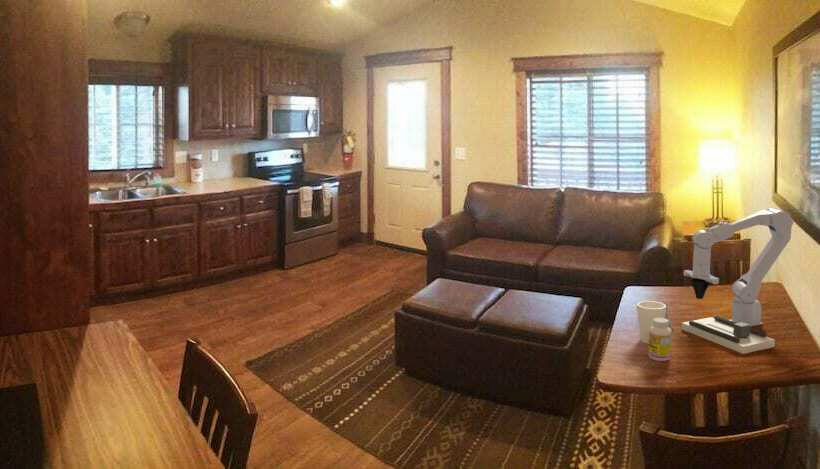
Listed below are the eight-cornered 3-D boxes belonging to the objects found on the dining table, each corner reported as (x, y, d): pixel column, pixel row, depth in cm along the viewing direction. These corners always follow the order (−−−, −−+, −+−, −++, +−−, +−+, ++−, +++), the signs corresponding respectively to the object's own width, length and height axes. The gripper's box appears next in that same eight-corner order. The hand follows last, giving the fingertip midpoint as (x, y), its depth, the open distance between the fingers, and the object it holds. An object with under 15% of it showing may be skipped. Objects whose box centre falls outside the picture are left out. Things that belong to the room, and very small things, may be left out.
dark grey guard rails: (717, 319, 219) (717, 315, 219) (766, 336, 200) (766, 332, 200) (688, 325, 214) (688, 320, 214) (736, 343, 196) (736, 338, 196)
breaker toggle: (741, 333, 204) (742, 322, 203) (749, 336, 201) (750, 324, 200) (733, 335, 202) (733, 323, 202) (740, 337, 200) (741, 326, 199)
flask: (675, 333, 214) (676, 306, 212) (654, 332, 215) (655, 306, 214) (670, 326, 221) (671, 300, 219) (650, 325, 222) (651, 300, 221)
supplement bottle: (644, 354, 196) (645, 317, 194) (663, 353, 197) (665, 315, 194) (654, 362, 189) (655, 323, 187) (674, 361, 190) (676, 322, 188)
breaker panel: (710, 323, 222) (711, 316, 222) (774, 346, 198) (775, 339, 198) (681, 329, 217) (681, 322, 217) (743, 353, 193) (743, 346, 193)
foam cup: (666, 346, 202) (668, 309, 200) (637, 344, 204) (639, 308, 202) (661, 336, 211) (663, 301, 209) (634, 335, 213) (635, 300, 211)
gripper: (678, 260, 225) (676, 294, 228) (709, 268, 212) (707, 305, 214) (692, 258, 227) (690, 292, 230) (724, 266, 214) (722, 302, 216)
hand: (699, 298), depth 222 cm, fingers closed
